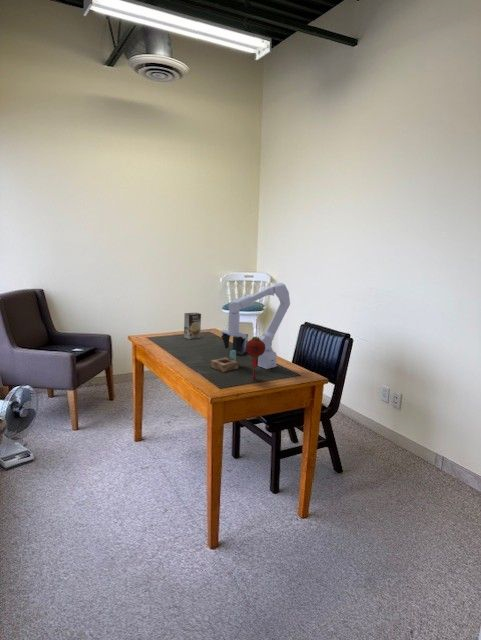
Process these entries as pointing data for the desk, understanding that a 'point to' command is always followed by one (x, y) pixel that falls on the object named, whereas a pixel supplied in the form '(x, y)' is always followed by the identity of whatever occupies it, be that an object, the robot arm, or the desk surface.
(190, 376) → the desk surface
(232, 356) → the peg
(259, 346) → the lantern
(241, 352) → the small box
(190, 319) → the coffee box
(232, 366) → the socket block
